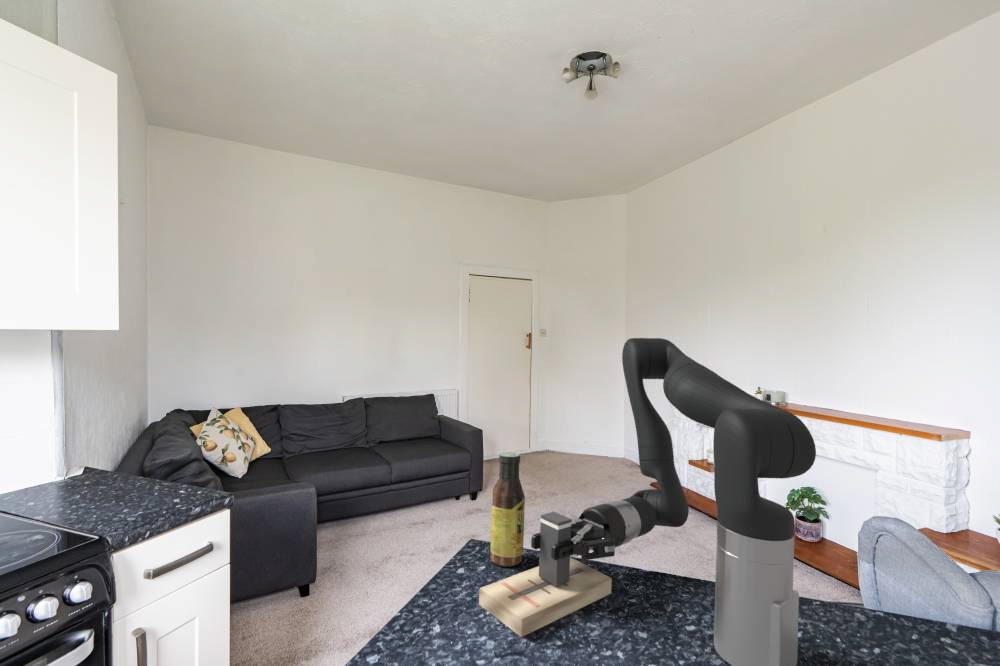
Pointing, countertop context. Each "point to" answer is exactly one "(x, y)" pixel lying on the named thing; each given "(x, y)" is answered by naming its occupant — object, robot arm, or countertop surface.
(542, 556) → the fader cap
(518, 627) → the fader console
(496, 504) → the sauce bottle
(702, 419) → the robot arm
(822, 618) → the countertop surface
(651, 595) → the countertop surface
